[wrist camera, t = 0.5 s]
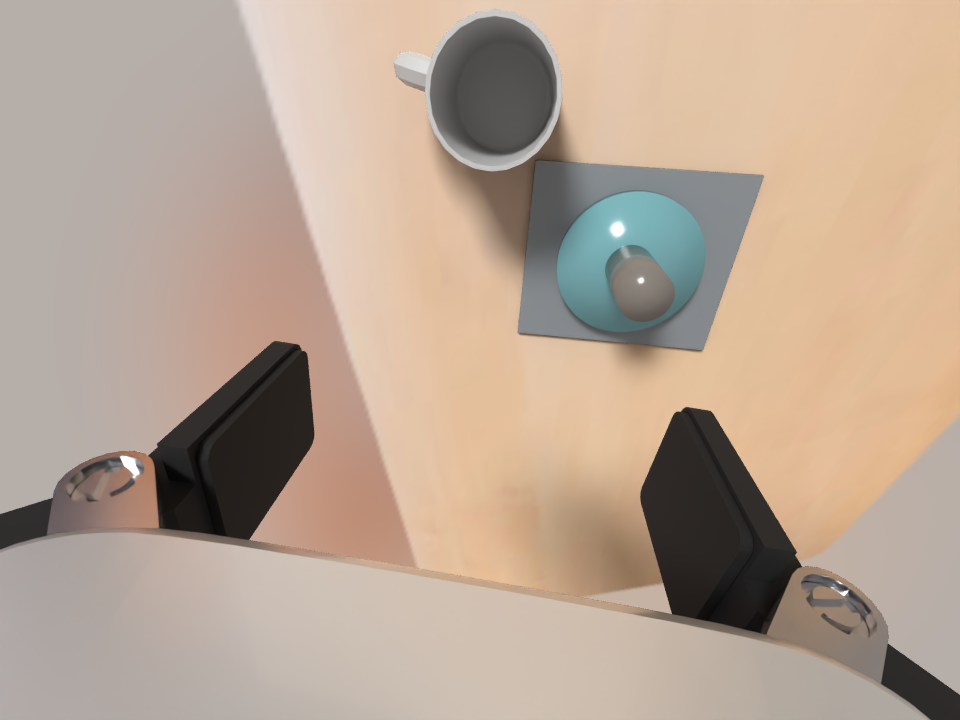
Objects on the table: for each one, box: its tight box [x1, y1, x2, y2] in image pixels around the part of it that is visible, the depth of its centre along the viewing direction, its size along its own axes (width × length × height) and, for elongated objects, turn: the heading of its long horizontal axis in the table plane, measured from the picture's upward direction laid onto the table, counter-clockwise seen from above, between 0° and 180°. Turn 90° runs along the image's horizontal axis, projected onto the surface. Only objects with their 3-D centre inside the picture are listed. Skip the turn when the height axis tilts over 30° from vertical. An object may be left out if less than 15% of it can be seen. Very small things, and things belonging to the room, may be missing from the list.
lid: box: [556, 190, 706, 332], centre depth 32 cm, size 11×11×7 cm
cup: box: [394, 9, 562, 171], centre depth 27 cm, size 7×10×9 cm
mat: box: [518, 160, 764, 350], centre depth 35 cm, size 16×14×1 cm
